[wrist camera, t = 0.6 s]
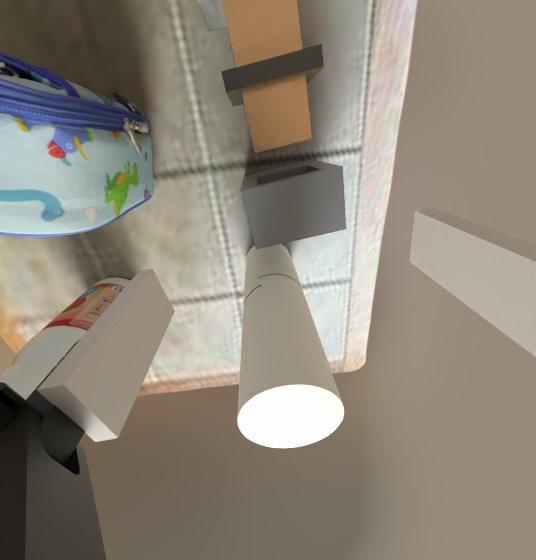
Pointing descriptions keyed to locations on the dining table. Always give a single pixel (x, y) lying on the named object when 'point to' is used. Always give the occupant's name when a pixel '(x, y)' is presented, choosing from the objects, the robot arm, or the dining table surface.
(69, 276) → the dining table surface
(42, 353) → the fruit juice
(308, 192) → the socket
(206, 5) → the sleeve
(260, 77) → the square peg
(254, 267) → the cylindrical container
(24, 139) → the lunch box
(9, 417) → the robot arm
